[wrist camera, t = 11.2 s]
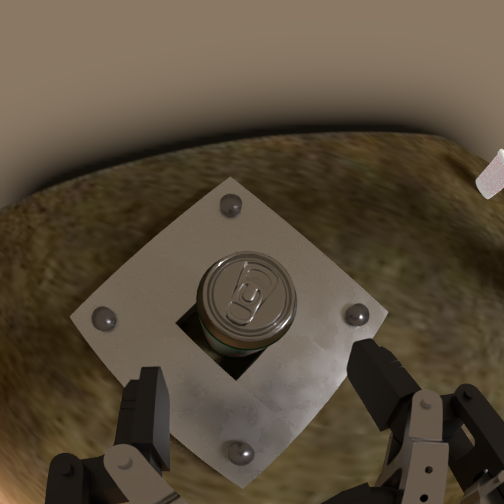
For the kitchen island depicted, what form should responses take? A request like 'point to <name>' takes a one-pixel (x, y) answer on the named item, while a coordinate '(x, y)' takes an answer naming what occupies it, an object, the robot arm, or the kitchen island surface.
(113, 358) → the socket plate
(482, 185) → the beverage cup
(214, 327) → the soda can
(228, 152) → the kitchen island surface
